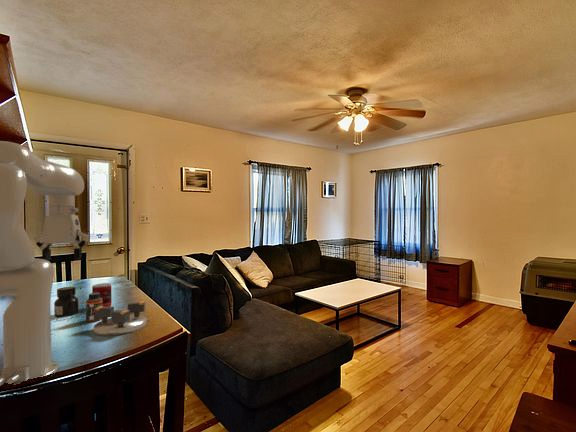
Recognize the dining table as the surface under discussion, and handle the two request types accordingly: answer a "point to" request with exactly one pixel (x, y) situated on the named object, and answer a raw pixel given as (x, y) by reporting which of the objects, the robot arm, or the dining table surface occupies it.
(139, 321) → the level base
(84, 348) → the dining table surface
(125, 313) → the grey chuck jaw
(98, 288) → the canned food
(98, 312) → the orange-tipped grey bar
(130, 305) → the grey and orange block
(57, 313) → the ink bottle
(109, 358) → the dining table surface
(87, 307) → the supplement bottle
